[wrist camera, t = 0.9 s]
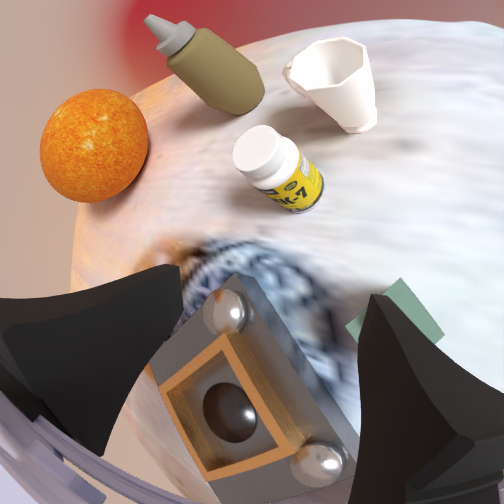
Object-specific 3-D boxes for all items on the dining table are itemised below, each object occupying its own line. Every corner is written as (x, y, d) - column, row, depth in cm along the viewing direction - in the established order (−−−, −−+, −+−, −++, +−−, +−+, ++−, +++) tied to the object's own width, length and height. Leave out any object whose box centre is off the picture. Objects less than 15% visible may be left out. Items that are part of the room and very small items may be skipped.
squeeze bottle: (264, 69, 33) (175, -13, 19) (280, 99, 30) (174, -1, 15) (220, 100, 37) (127, 32, 22) (228, 133, 34) (116, 56, 19)
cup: (373, 155, 22) (346, 98, 16) (292, 127, 28) (249, 82, 21) (401, 102, 21) (380, 40, 15) (321, 83, 27) (287, 34, 20)
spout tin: (437, 327, 16) (446, 336, 10) (397, 361, 18) (382, 387, 11) (406, 288, 19) (399, 274, 12) (368, 322, 20) (339, 326, 13)
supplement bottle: (281, 218, 26) (224, 183, 20) (280, 175, 27) (228, 132, 21) (328, 209, 24) (282, 165, 17) (324, 163, 25) (280, 111, 18)
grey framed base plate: (371, 455, 16) (355, 484, 12) (243, 498, 21) (213, 517, 17) (254, 277, 27) (219, 269, 23) (167, 358, 32) (133, 360, 28)
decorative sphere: (123, 237, 44) (16, 206, 28) (105, 185, 55) (29, 157, 39) (187, 137, 39) (78, 74, 23) (153, 109, 50) (77, 67, 34)
